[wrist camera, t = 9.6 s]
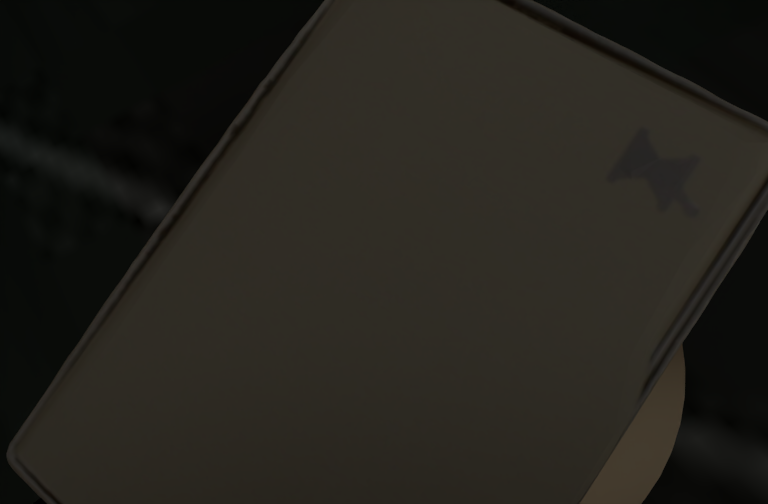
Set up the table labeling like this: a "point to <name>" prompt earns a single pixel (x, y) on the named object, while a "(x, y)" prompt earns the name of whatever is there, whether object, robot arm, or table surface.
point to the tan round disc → (644, 443)
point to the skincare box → (410, 273)
